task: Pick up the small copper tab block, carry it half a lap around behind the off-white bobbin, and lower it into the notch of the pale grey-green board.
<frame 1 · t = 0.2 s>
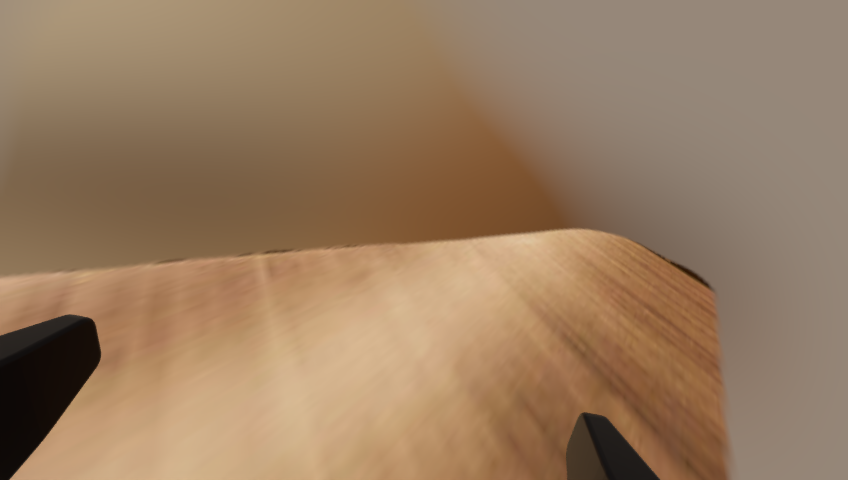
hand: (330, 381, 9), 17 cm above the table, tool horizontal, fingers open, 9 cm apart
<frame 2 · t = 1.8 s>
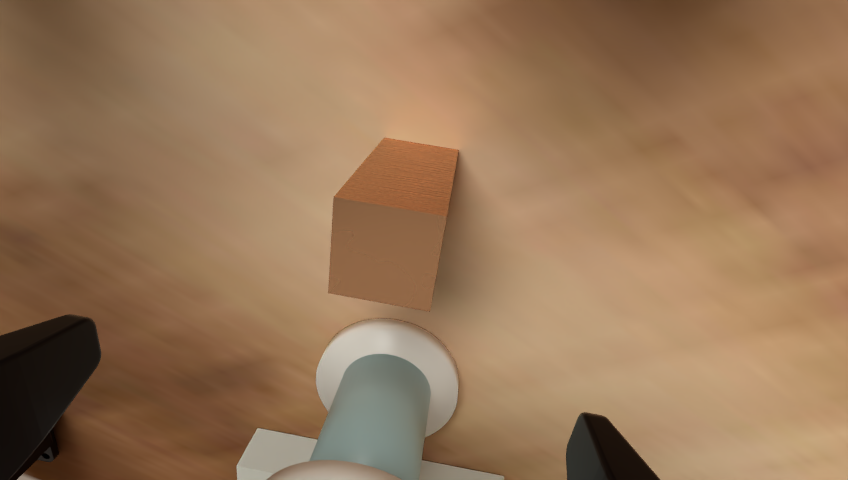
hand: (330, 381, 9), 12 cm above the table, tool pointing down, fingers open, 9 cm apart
copper tab: (416, 179, 19), on the table
bobbin: (389, 376, 24), on the table
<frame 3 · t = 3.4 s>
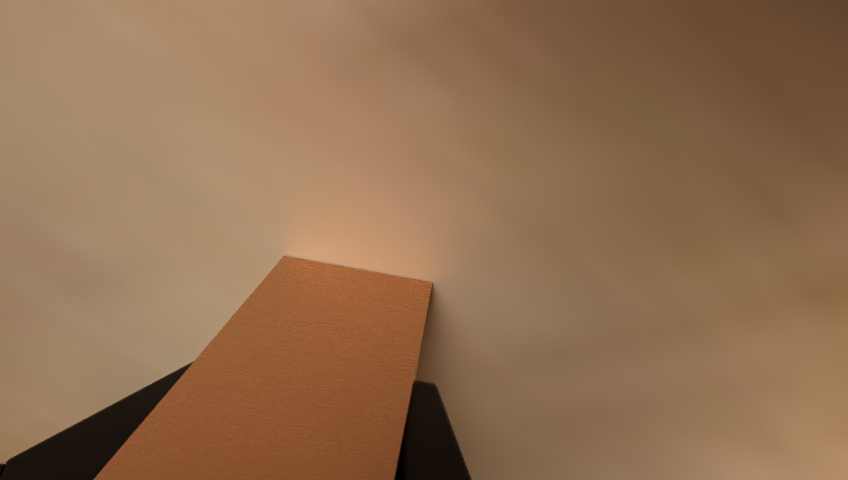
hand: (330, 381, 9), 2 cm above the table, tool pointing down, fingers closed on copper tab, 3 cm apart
copper tab: (352, 330, 10), on the table, touching gripper
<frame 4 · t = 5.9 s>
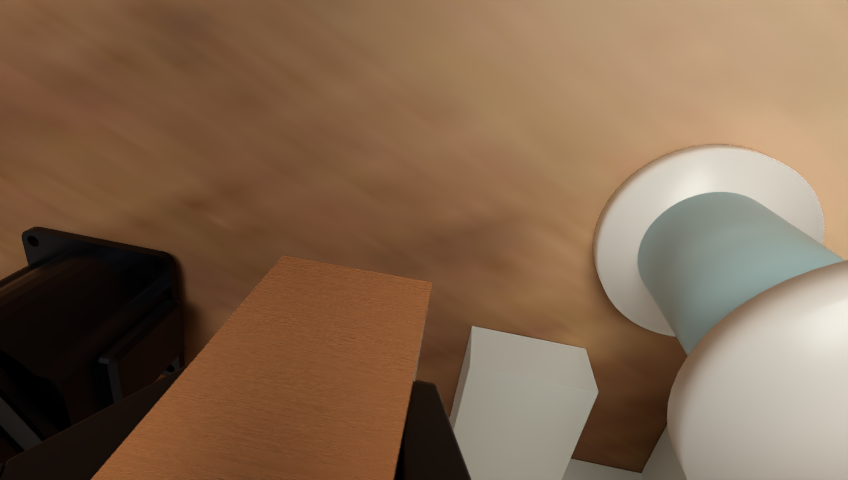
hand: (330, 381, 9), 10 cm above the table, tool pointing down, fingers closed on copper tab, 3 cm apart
copper tab: (351, 330, 10), point 8 cm above the table, touching gripper
notched board: (612, 420, 21), on the table
bobbin: (694, 240, 17), on the table
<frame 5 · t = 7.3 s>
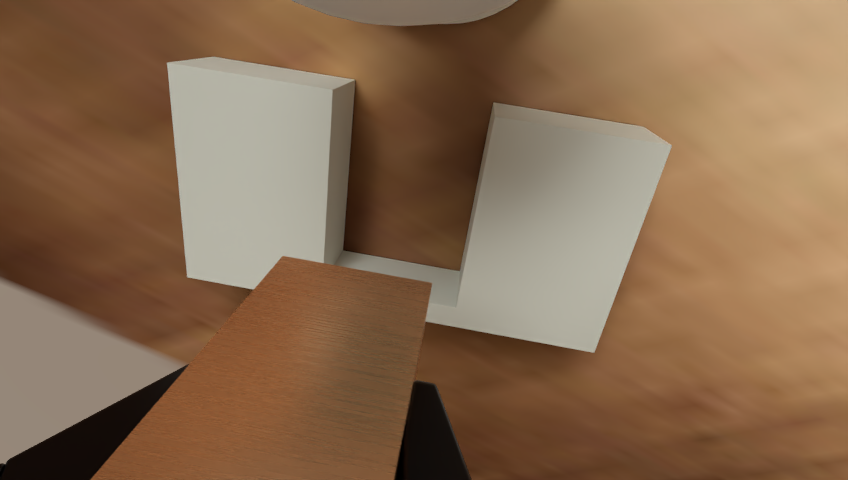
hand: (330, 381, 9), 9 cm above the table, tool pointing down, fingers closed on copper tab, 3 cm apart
copper tab: (351, 330, 10), point 8 cm above the table, touching gripper
notched board: (410, 192, 17), on the table
when the fingers open (3 cm above the table, at t = 8.5 s): copper tab drops 2 cm, resting in notched board.
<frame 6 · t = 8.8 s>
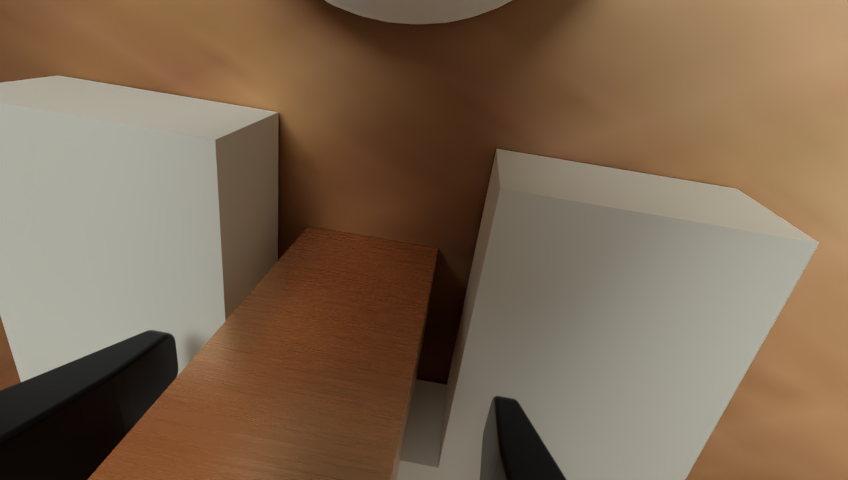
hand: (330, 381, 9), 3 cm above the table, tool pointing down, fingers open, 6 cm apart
copper tab: (367, 293, 11), resting in notched board
notched board: (370, 278, 11), on the table
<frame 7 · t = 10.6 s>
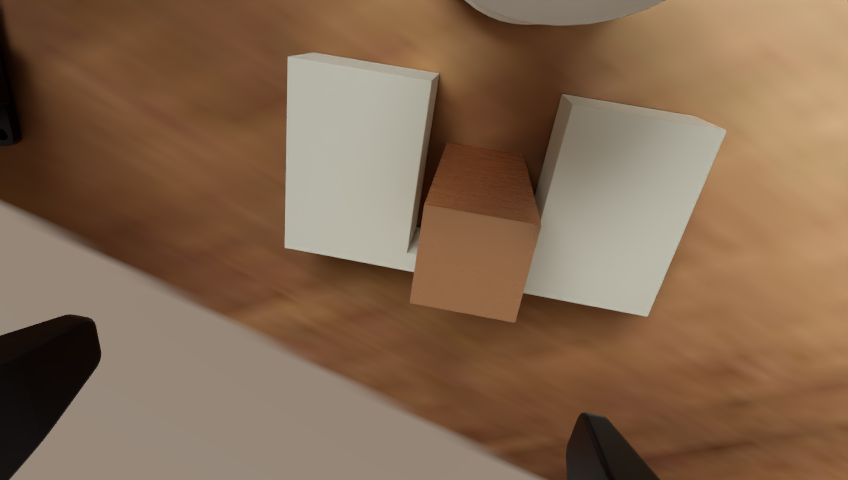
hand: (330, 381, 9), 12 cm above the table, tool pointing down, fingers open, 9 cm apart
copper tab: (477, 185, 19), resting in notched board
notched board: (481, 174, 19), on the table
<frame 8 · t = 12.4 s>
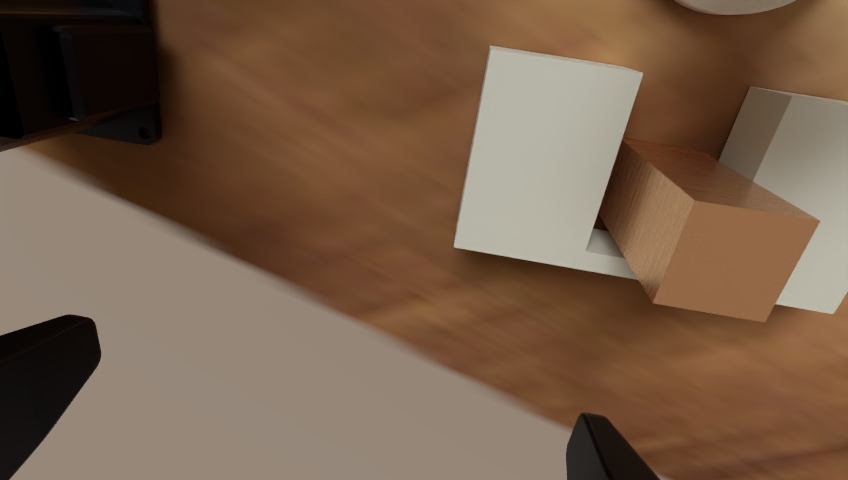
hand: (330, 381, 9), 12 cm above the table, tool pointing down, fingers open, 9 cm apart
copper tab: (645, 181, 18), resting in notched board
notched board: (651, 170, 18), on the table
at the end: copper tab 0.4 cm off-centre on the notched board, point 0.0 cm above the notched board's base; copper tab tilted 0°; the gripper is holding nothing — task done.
